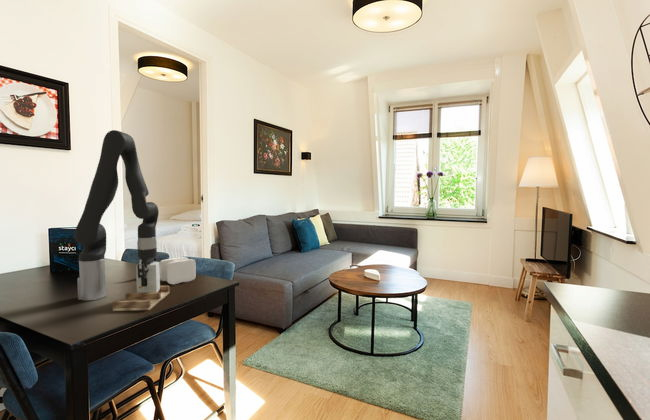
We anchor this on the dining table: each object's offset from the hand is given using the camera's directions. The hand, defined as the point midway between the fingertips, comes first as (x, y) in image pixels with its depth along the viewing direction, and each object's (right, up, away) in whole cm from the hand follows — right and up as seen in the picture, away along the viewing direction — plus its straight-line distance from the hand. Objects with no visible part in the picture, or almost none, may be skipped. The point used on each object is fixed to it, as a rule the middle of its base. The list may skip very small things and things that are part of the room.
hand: (148, 283), depth 147 cm
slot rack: (0, -7, -4) cm, 8 cm away
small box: (0, -4, 0) cm, 4 cm away
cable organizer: (+2, -5, +26) cm, 26 cm away
